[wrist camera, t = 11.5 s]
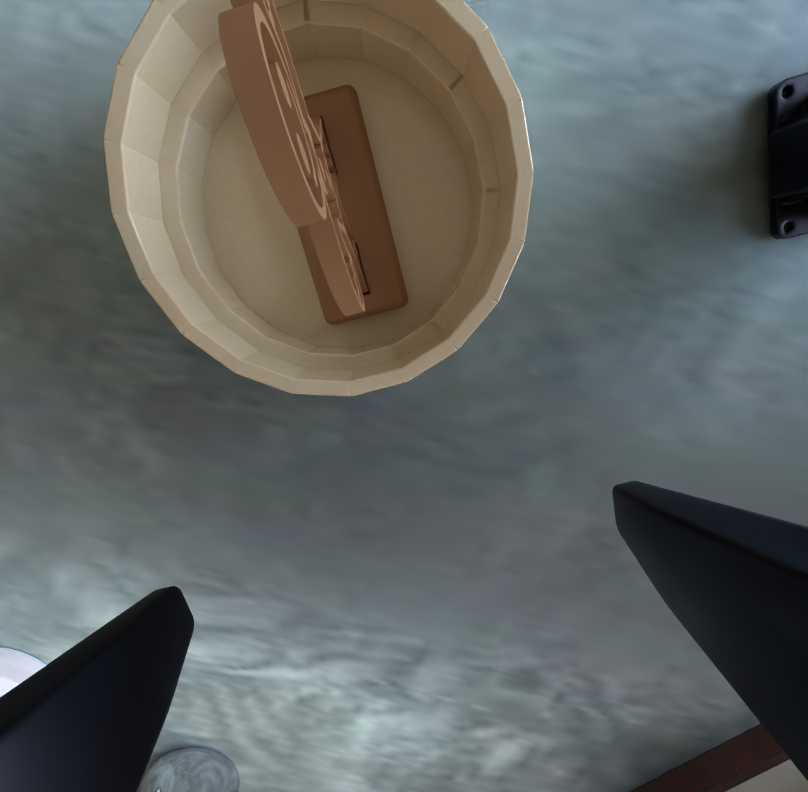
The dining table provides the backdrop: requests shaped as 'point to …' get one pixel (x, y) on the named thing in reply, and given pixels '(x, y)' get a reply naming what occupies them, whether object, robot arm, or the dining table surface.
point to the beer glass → (191, 772)
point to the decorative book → (735, 769)
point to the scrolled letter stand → (315, 166)
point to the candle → (16, 668)
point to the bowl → (267, 221)
